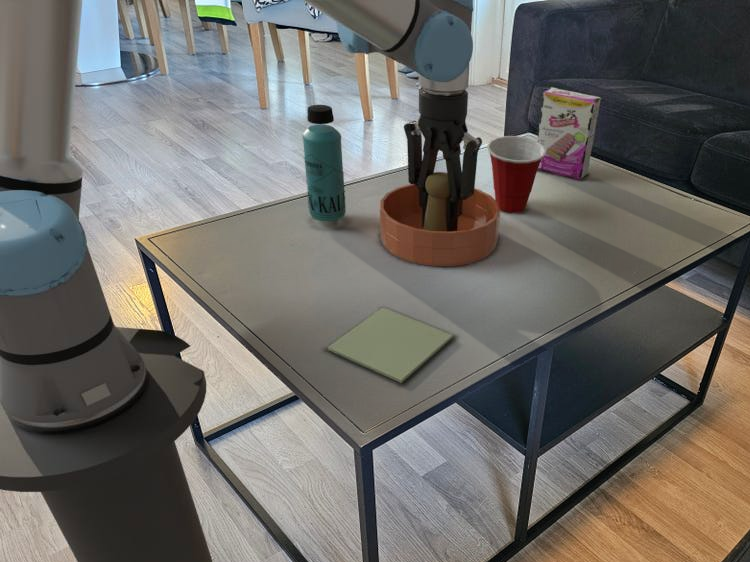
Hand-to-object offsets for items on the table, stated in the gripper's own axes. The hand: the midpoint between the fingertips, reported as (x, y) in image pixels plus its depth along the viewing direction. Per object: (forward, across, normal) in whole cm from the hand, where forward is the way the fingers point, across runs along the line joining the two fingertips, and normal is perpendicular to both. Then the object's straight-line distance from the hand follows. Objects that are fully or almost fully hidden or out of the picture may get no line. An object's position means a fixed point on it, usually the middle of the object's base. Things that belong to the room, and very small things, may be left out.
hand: (439, 229), depth 112 cm
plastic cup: (+2, -4, -19) cm, 20 cm away
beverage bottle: (+2, +19, +7) cm, 20 cm away
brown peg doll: (+1, 0, 0) cm, 1 cm away
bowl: (+2, 0, 0) cm, 2 cm away
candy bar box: (+2, -4, -42) cm, 42 cm away
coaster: (+2, -12, +30) cm, 32 cm away
